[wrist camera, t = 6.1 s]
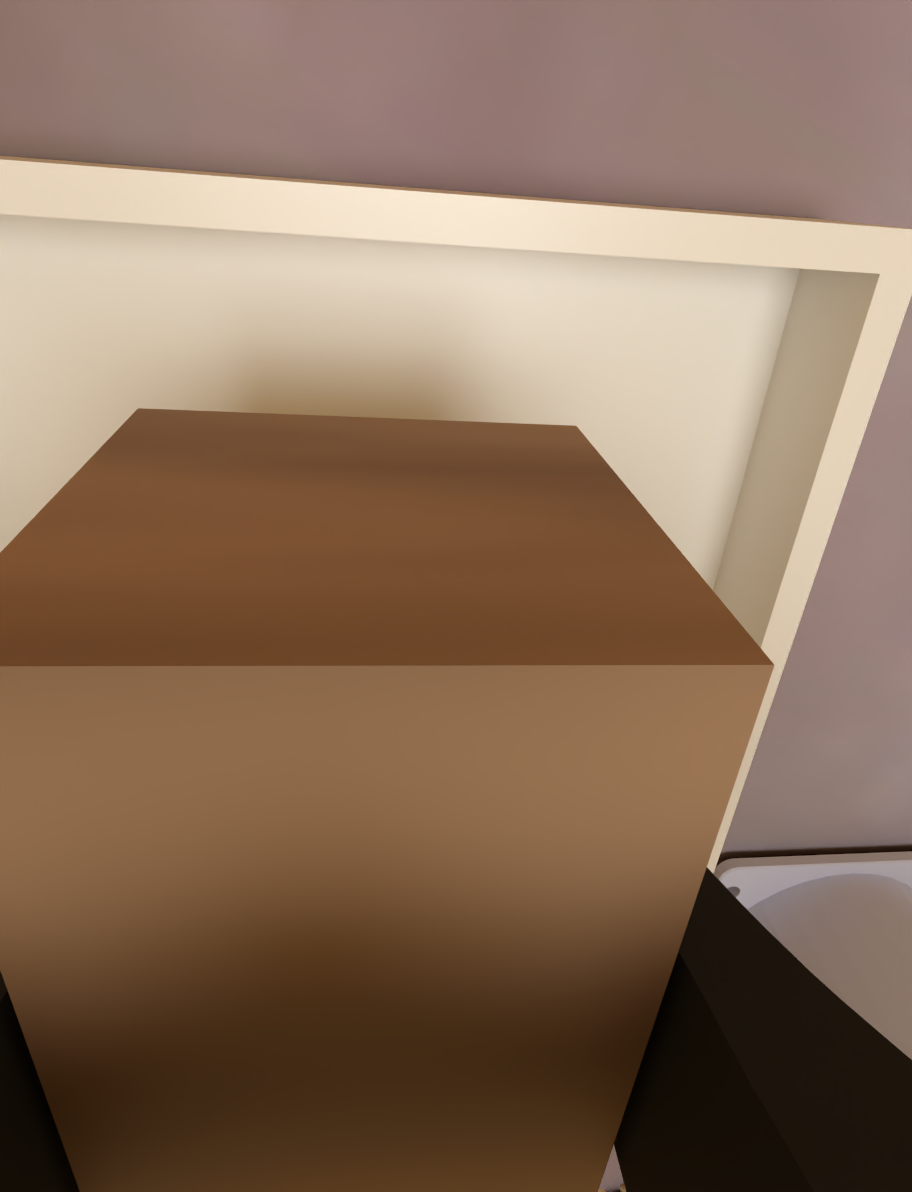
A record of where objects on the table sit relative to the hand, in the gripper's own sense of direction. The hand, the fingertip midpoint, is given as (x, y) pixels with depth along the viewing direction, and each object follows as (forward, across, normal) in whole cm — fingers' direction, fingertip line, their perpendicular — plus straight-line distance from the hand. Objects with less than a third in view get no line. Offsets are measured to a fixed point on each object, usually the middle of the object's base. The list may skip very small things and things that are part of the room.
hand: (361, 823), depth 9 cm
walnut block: (+2, 0, 0) cm, 2 cm away
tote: (+7, 0, 0) cm, 7 cm away
